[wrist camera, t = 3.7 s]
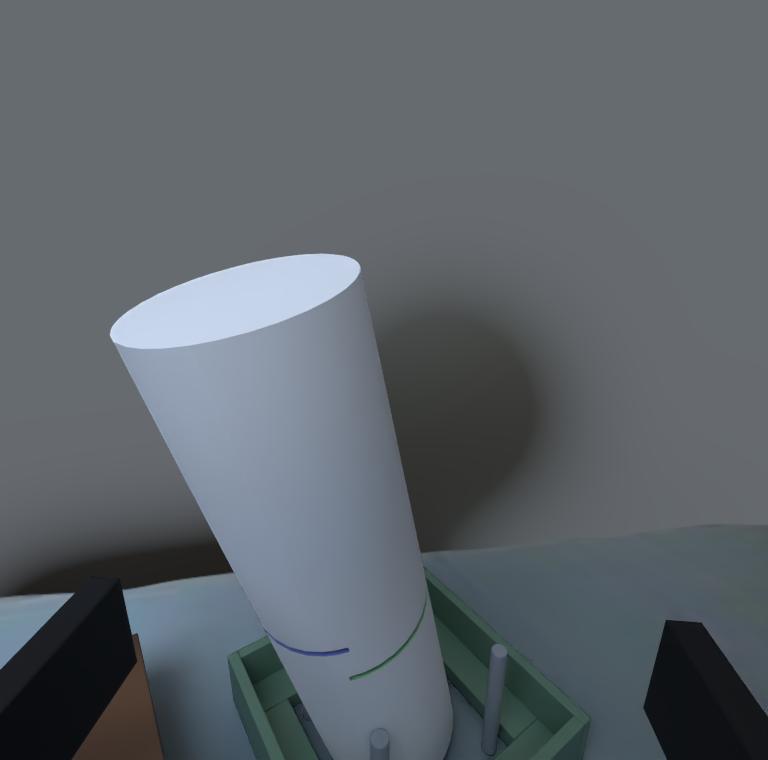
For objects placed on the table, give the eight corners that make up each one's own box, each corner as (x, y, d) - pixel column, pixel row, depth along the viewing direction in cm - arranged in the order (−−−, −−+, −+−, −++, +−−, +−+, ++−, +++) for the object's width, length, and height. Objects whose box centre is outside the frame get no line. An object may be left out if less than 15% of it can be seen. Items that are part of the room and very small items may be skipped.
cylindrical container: (336, 653, 29) (180, 274, 17) (448, 646, 28) (369, 241, 16) (316, 798, 23) (47, 367, 11) (459, 796, 22) (344, 321, 10)
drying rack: (581, 765, 24) (602, 665, 22) (355, 1013, 16) (351, 898, 14) (415, 597, 35) (417, 519, 33) (232, 698, 27) (220, 606, 25)
